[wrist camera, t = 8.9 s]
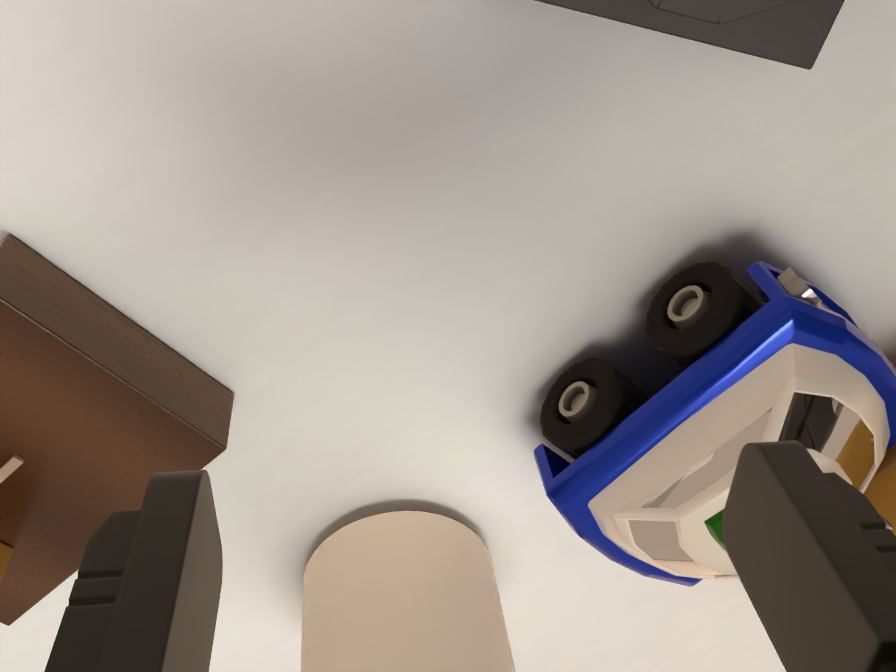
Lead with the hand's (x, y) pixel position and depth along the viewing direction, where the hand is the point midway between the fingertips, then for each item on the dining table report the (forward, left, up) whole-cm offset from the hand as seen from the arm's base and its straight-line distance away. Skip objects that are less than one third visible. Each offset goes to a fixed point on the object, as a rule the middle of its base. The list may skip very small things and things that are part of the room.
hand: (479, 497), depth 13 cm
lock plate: (+11, +13, -16) cm, 23 cm away
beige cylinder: (-4, +19, -16) cm, 25 cm away
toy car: (-13, +8, -16) cm, 22 cm away
